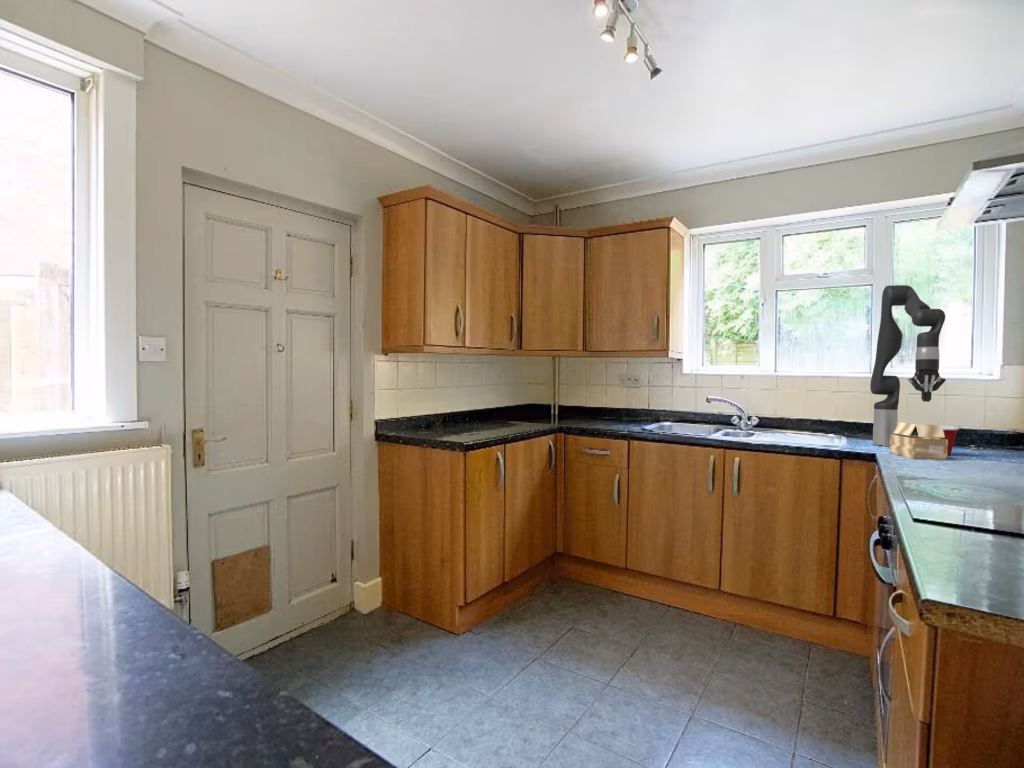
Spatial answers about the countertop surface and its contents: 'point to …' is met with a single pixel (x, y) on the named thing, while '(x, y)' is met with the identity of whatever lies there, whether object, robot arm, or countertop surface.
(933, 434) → the short flap
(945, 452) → the carton
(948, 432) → the plastic cup
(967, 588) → the countertop surface
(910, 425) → the long flap
